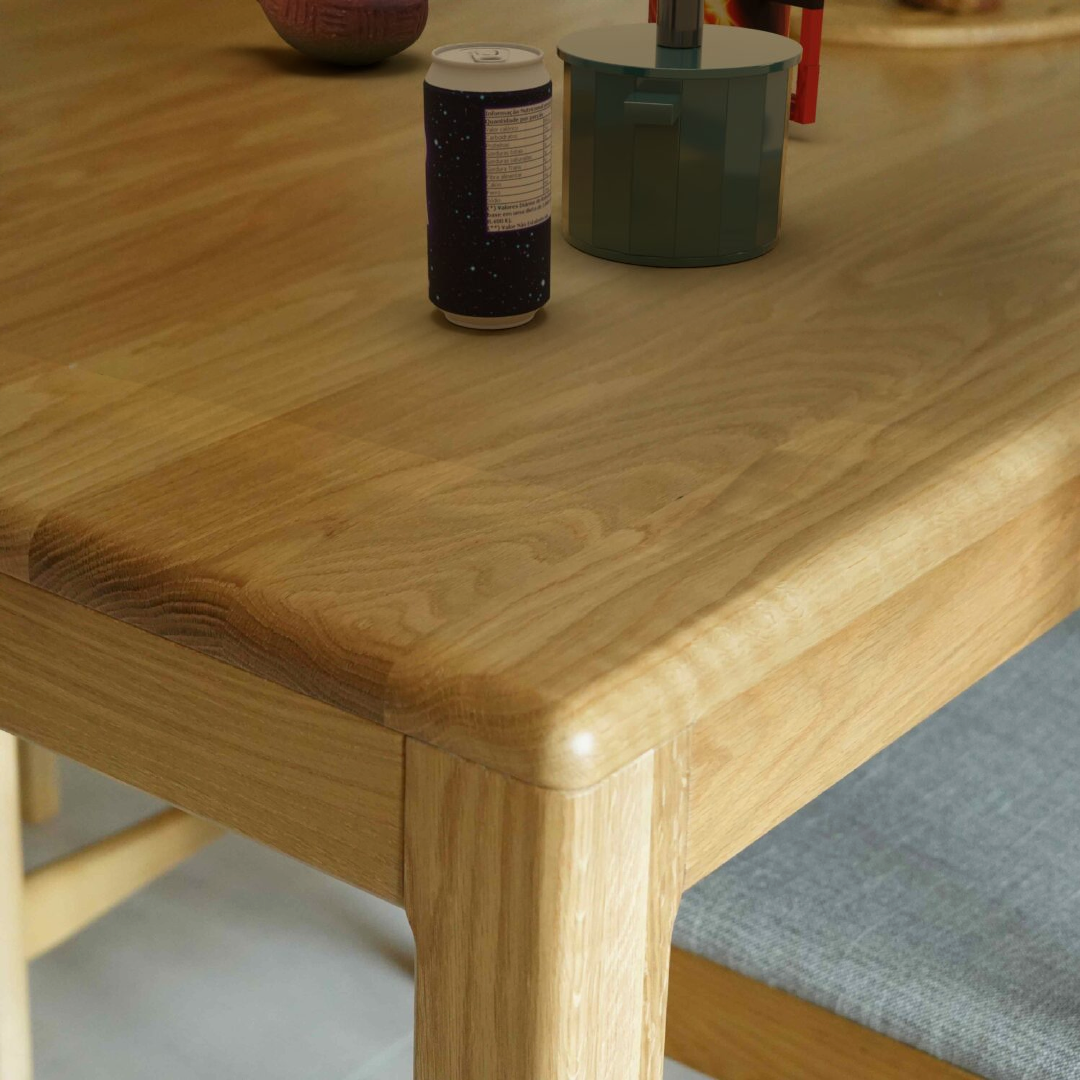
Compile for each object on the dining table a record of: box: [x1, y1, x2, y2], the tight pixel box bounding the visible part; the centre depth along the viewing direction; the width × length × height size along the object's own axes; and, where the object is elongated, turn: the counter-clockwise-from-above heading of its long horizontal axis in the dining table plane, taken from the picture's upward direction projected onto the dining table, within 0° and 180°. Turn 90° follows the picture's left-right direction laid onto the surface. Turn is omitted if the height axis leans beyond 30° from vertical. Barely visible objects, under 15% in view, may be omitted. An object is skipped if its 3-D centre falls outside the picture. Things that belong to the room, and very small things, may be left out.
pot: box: [561, 61, 794, 268], centre depth 87 cm, size 12×17×10 cm
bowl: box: [255, 0, 429, 67], centre depth 128 cm, size 16×13×8 cm
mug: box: [647, 0, 825, 125], centre depth 111 cm, size 10×14×12 cm
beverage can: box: [422, 41, 553, 330], centre depth 74 cm, size 6×6×12 cm
